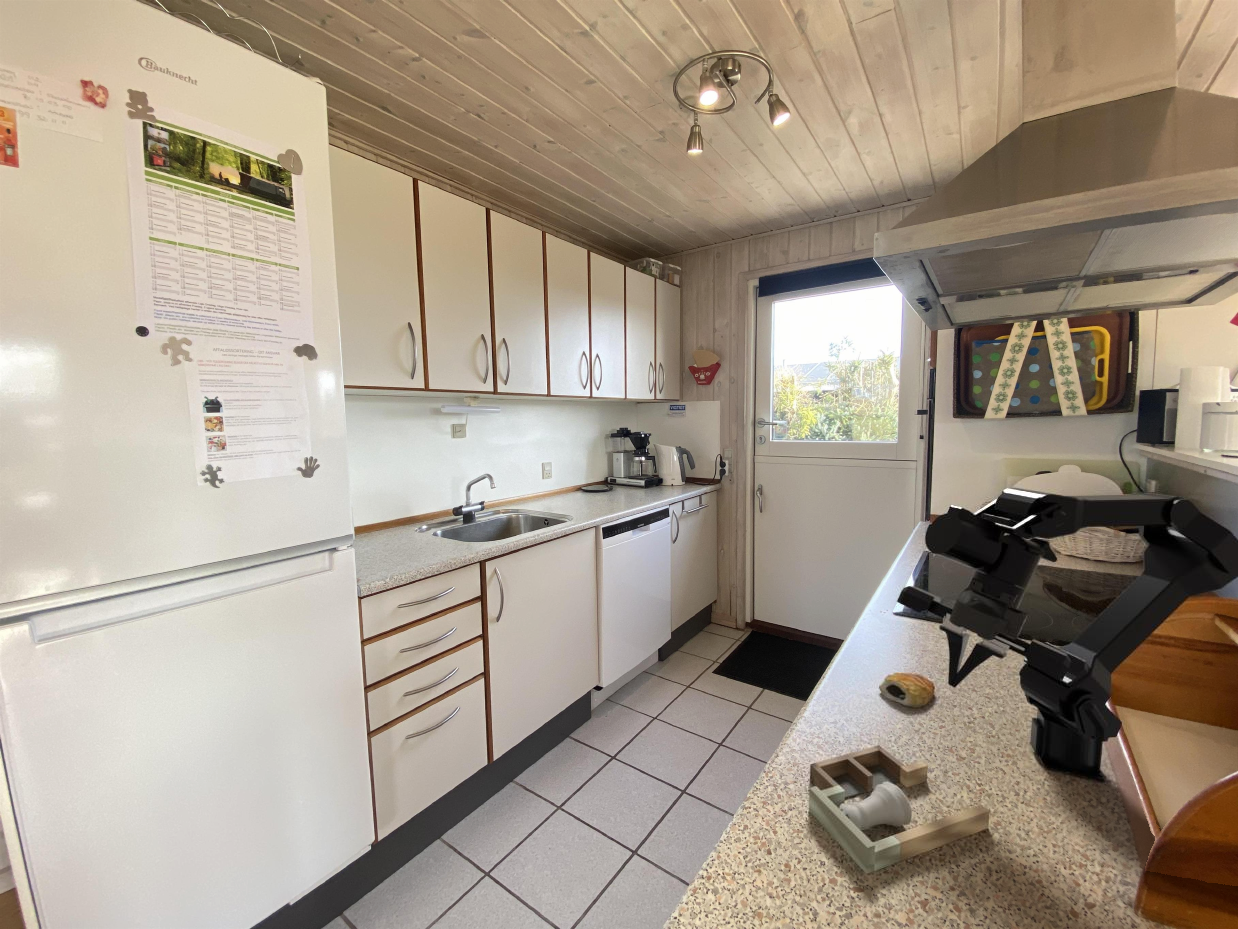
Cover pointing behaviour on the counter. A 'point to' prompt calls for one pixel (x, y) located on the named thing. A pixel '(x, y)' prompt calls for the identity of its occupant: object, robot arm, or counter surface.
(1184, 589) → the robot arm
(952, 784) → the counter surface
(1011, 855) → the counter surface
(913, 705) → the pastry
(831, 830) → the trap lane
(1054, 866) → the counter surface
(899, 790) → the rook chess piece
